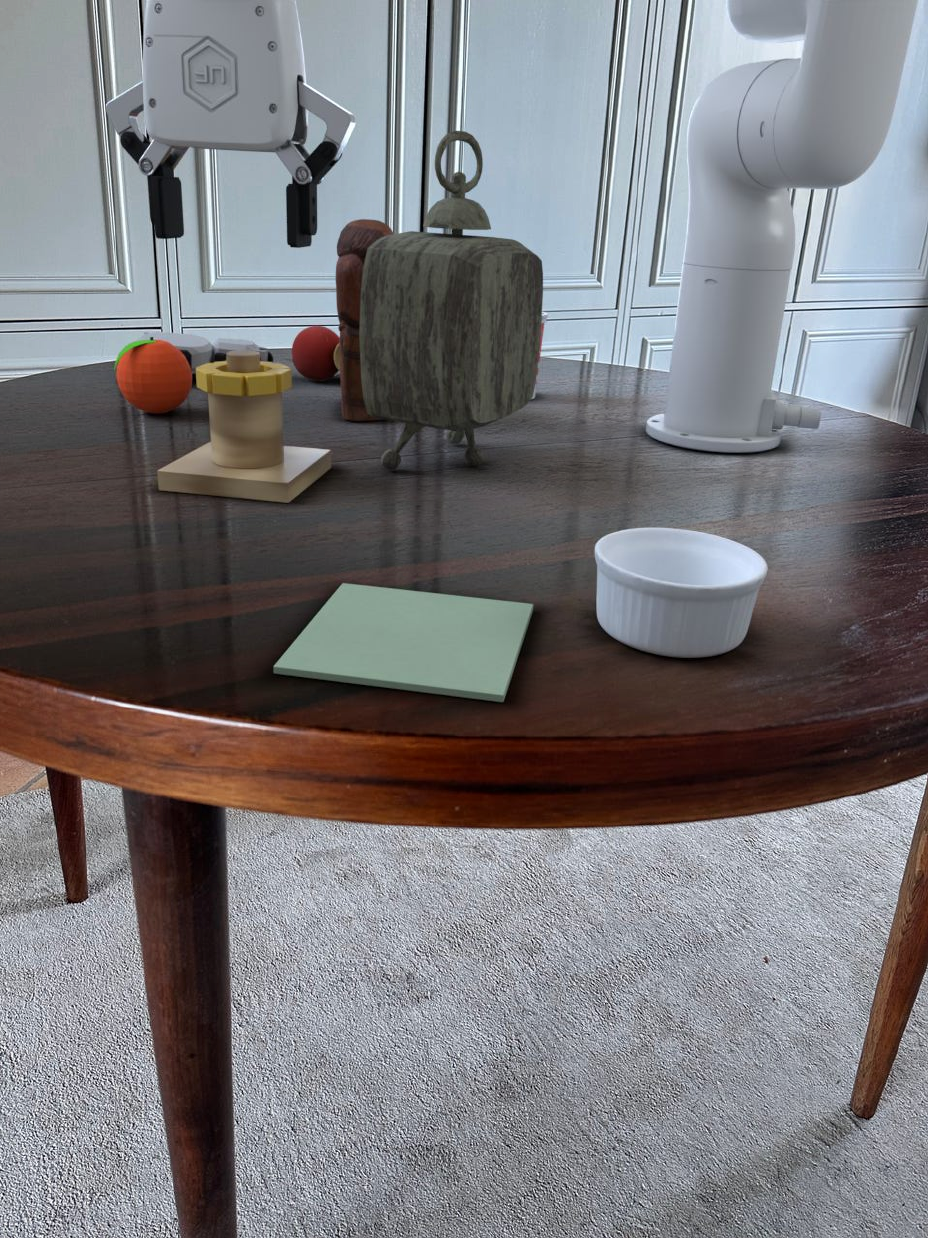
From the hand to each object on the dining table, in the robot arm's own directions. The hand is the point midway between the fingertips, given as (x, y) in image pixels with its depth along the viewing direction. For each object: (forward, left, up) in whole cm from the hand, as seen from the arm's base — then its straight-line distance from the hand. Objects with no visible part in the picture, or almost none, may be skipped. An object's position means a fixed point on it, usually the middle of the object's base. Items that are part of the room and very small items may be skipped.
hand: (234, 242), depth 70 cm
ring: (0, 0, -10) cm, 10 cm away
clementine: (+17, -18, -17) cm, 30 cm away
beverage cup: (-15, -40, -17) cm, 46 cm away
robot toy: (+20, -37, -17) cm, 45 cm away
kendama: (+2, -42, -17) cm, 45 cm away
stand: (0, 0, -17) cm, 17 cm away
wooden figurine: (-2, -27, -17) cm, 32 cm away
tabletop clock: (-14, -10, -17) cm, 24 cm away
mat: (-19, +25, -17) cm, 36 cm away
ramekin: (-32, +20, -17) cm, 42 cm away
